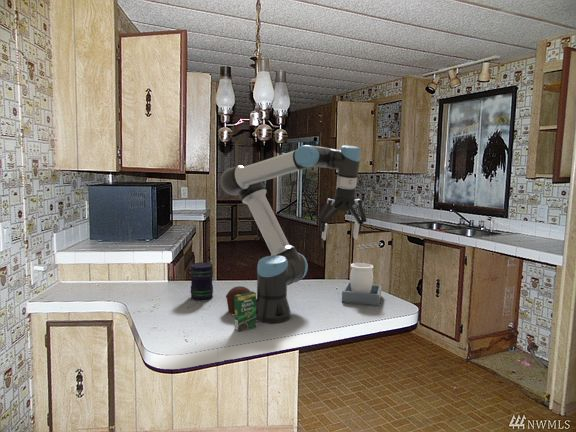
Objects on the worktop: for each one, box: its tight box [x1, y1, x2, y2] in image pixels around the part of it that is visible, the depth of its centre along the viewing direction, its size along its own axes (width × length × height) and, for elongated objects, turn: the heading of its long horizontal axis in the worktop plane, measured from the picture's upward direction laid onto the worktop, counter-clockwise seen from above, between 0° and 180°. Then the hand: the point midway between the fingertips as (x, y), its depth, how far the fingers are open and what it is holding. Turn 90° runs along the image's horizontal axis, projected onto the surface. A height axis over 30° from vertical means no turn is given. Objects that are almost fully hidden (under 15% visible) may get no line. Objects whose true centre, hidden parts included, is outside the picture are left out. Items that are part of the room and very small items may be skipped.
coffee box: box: [233, 290, 257, 332], centre depth 149 cm, size 8×3×13 cm, turn 127°
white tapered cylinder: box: [349, 262, 374, 293], centre depth 187 cm, size 11×10×15 cm
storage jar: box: [190, 261, 214, 302], centre depth 183 cm, size 10×10×15 cm
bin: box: [341, 281, 382, 307], centre depth 187 cm, size 16×16×5 cm
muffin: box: [225, 286, 252, 316], centre depth 166 cm, size 12×11×10 cm
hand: (339, 238), depth 164 cm, fingers open, 13 cm apart
